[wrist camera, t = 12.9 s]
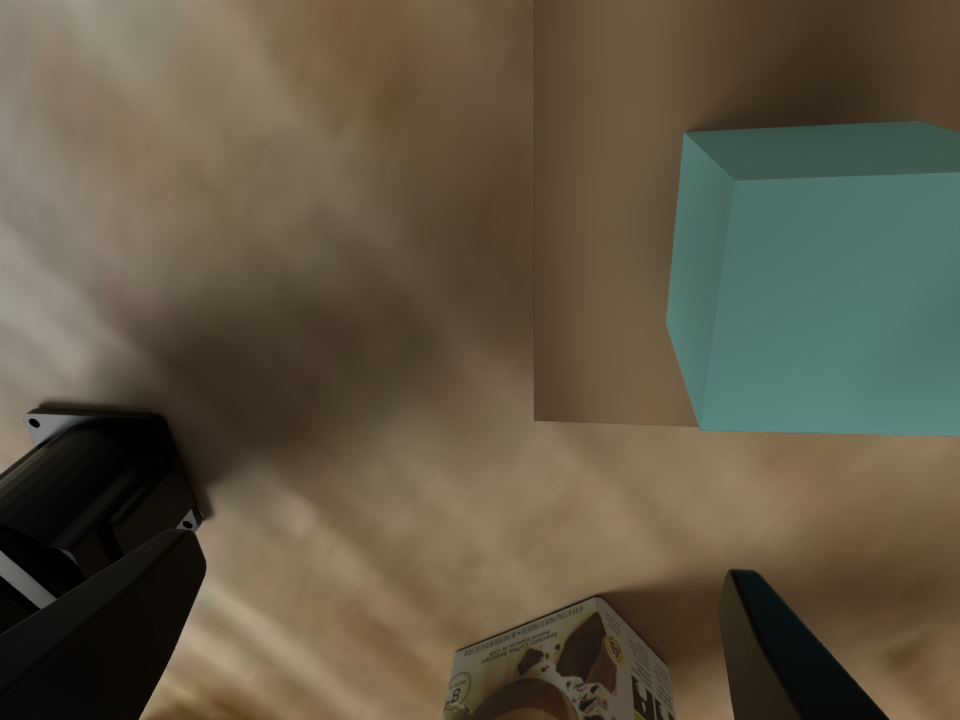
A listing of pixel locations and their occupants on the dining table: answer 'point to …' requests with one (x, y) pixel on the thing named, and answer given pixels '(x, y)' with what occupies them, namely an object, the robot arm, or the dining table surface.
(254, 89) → the dining table surface
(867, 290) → the teal block
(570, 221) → the walnut block
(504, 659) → the coffee box
